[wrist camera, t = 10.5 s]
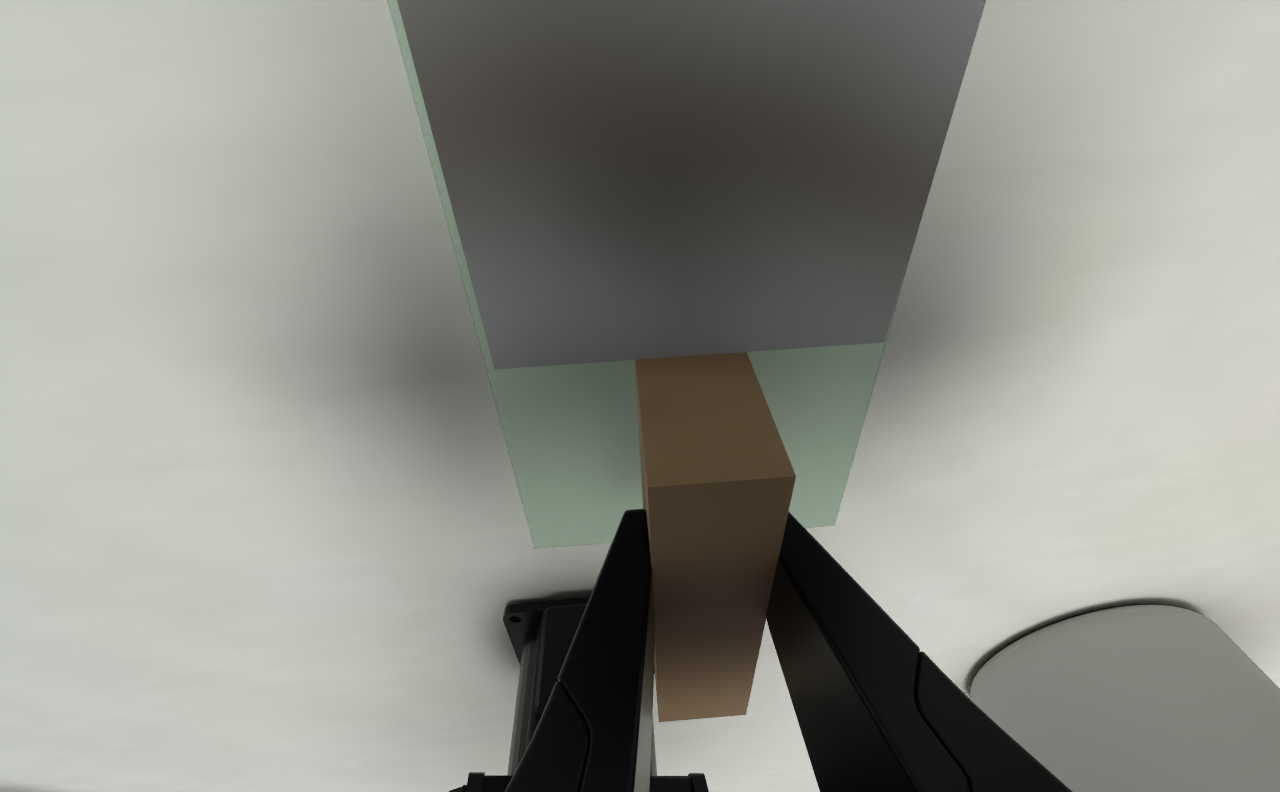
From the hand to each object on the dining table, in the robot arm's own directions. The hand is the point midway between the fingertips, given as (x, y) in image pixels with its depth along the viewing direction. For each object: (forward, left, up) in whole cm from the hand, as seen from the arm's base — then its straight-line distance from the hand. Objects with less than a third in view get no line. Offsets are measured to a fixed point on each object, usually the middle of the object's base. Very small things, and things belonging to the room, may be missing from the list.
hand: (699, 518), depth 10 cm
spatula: (+2, 0, -2) cm, 3 cm away
